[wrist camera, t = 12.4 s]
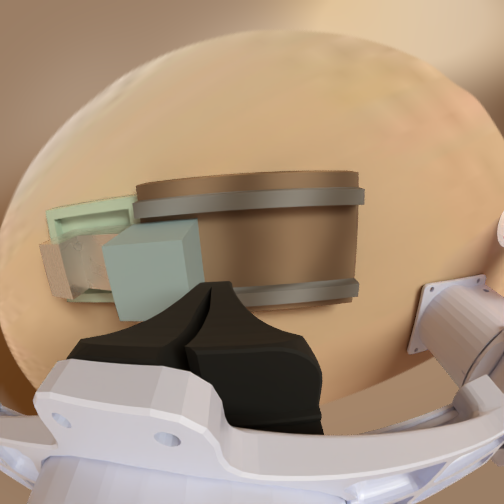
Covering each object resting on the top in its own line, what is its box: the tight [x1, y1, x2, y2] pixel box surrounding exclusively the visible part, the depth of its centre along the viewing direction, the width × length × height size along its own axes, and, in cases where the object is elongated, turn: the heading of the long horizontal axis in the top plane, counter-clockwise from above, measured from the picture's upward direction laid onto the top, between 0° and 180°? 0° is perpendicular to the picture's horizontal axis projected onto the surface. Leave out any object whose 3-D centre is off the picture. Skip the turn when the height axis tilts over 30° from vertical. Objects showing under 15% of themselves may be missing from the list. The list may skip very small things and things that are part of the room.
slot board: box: [132, 171, 365, 312], centre depth 19 cm, size 14×10×3 cm, turn 93°
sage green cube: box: [101, 218, 205, 321], centre depth 16 cm, size 4×4×5 cm
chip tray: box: [46, 195, 141, 302], centre depth 20 cm, size 9×8×1 cm
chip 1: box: [39, 228, 93, 300], centre depth 18 cm, size 4×4×2 cm
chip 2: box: [77, 224, 133, 291], centre depth 18 cm, size 4×4×2 cm
